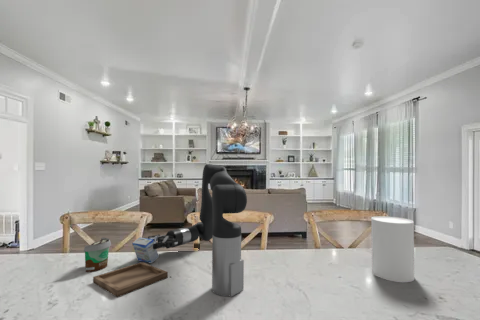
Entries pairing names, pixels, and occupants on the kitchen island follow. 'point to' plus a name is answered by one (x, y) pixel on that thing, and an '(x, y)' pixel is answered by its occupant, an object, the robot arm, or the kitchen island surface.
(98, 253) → the food container
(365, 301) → the kitchen island surface
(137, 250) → the medicine box
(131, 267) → the walnut tray
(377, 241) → the canister
